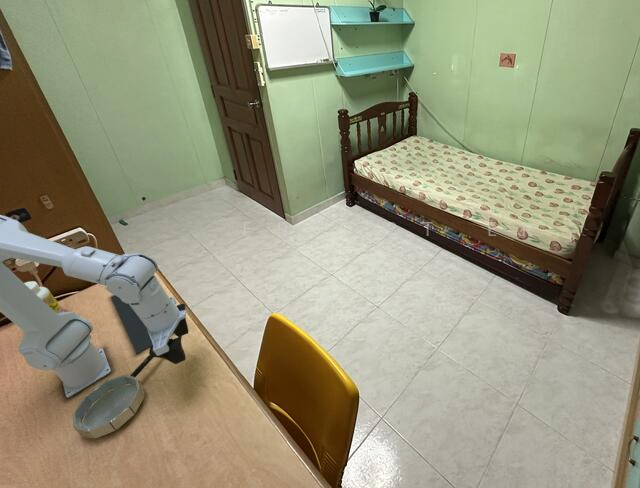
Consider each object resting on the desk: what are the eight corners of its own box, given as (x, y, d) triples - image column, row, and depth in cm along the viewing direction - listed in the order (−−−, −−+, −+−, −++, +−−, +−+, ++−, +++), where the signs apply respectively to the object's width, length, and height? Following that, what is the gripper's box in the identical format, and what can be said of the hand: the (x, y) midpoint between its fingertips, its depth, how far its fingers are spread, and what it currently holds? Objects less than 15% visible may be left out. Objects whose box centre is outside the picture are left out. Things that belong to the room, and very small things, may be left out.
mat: (111, 297, 96) (110, 297, 96) (143, 282, 102) (143, 281, 102) (137, 354, 80) (136, 353, 80) (173, 332, 86) (173, 332, 86)
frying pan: (149, 349, 82) (142, 338, 80) (186, 357, 80) (181, 346, 78) (68, 434, 65) (57, 423, 63) (113, 446, 63) (103, 436, 61)
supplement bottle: (44, 332, 85) (17, 299, 79) (25, 327, 87) (-3, 295, 80) (71, 312, 91) (48, 280, 85) (53, 308, 92) (29, 276, 86)
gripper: (172, 324, 61) (199, 365, 67) (179, 277, 72) (202, 316, 79) (128, 341, 58) (162, 381, 65) (143, 290, 70) (170, 329, 76)
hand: (182, 346), depth 72 cm, fingers open, 7 cm apart
